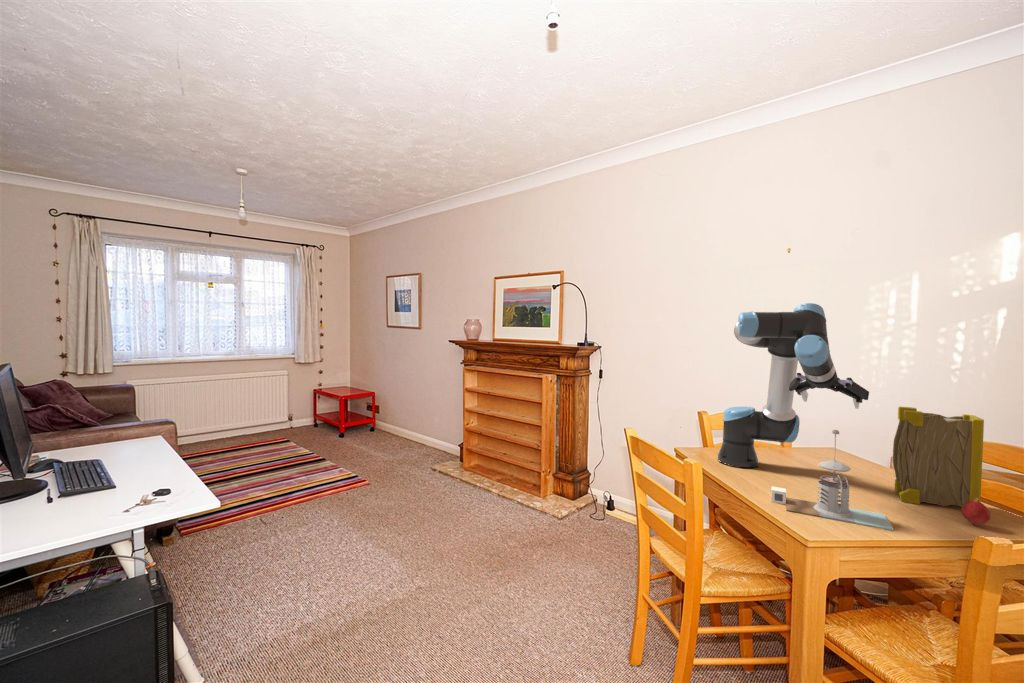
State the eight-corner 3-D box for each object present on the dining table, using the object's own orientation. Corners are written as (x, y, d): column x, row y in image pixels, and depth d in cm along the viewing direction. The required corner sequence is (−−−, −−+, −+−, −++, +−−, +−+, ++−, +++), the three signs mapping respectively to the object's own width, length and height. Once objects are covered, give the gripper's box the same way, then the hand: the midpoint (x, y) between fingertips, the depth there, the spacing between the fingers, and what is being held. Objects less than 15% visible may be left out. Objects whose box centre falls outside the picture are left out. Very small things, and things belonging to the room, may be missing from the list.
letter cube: (771, 502, 145) (771, 490, 144) (771, 498, 148) (771, 486, 148) (785, 504, 143) (786, 492, 142) (785, 500, 146) (785, 488, 146)
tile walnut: (786, 510, 137) (786, 509, 137) (785, 498, 148) (785, 497, 148) (819, 517, 133) (819, 515, 133) (816, 503, 144) (816, 502, 144)
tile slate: (819, 517, 133) (819, 515, 133) (816, 503, 144) (816, 502, 144) (855, 523, 129) (855, 522, 129) (848, 509, 139) (848, 508, 139)
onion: (956, 523, 130) (958, 496, 130) (967, 519, 133) (968, 493, 132) (984, 531, 125) (985, 503, 125) (994, 528, 127) (995, 500, 127)
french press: (842, 506, 141) (845, 427, 140) (863, 521, 130) (866, 435, 129) (807, 503, 143) (810, 425, 142) (825, 518, 132) (828, 433, 131)
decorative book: (970, 503, 145) (974, 411, 145) (982, 515, 136) (986, 417, 135) (890, 491, 156) (893, 405, 155) (896, 501, 147) (899, 410, 146)
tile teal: (855, 523, 129) (855, 522, 129) (848, 509, 139) (848, 508, 139) (893, 530, 125) (893, 529, 125) (883, 515, 135) (883, 513, 135)
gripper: (768, 377, 137) (784, 405, 150) (872, 389, 119) (879, 419, 132) (774, 356, 139) (788, 385, 152) (876, 364, 121) (883, 396, 135)
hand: (830, 401), depth 142 cm, fingers open, 13 cm apart
